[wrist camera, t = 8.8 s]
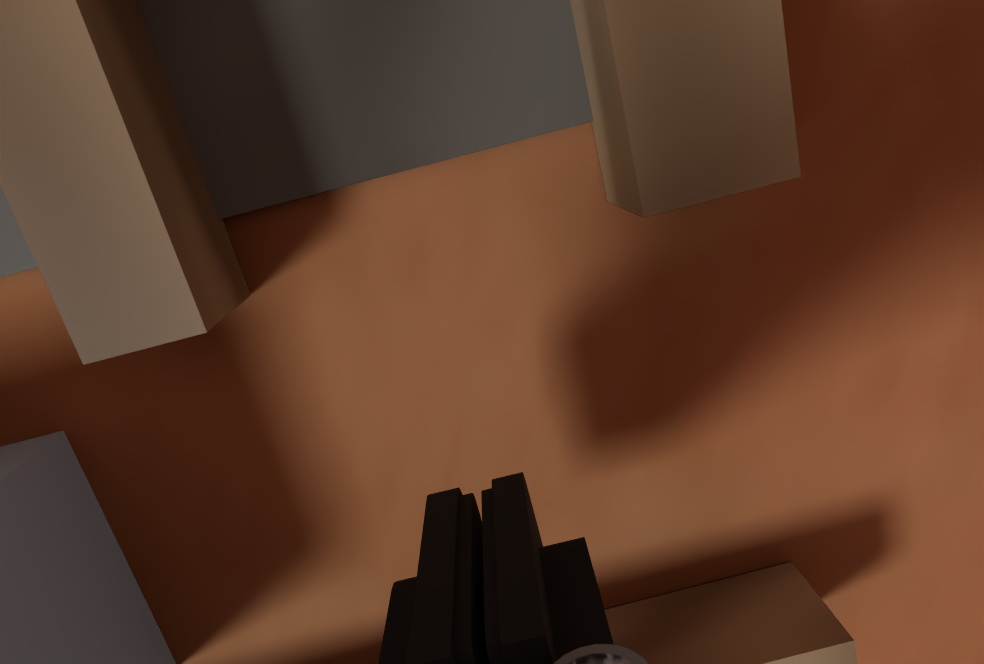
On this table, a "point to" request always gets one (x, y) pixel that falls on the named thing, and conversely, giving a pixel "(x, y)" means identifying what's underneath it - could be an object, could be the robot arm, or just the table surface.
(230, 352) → the table surface
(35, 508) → the block
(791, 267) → the table surface
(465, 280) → the table surface
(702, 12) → the trap lane
